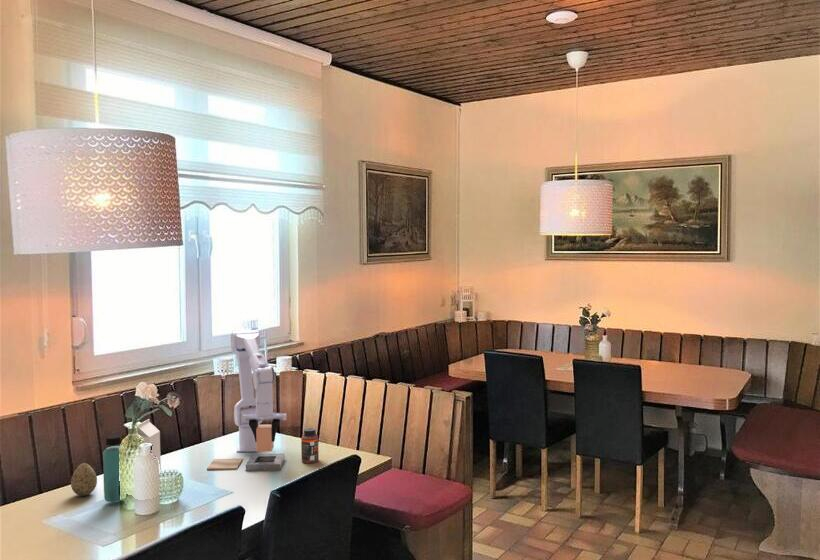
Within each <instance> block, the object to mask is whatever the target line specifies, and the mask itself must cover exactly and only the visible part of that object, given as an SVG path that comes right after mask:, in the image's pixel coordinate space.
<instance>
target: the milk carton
mask: <svg viewBox="0 0 820 560" xmlns="http://www.w3.org/2000/svg"><path fill="white" fill-rule="evenodd" d="M139 424H140V423H139ZM138 434H139V435H140V436H142V437H143V438H144V440H145V442H147V443H151V444H152V445H153V446H152V450H151V452H152V454H154V455H155V456H156V457H157V458H158V460H159V464H160V470H161V471H162V467H161V465H162V461H161V459H162V458H161V431H160V430H159V429H158V428H157V427H156V426H155V425H154V424H153V423H152V422H151V421H150V418H148V419H146V420H144V421H142V422H141V424H140V425H139V426H138Z"/></svg>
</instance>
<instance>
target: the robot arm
mask: <svg viewBox="0 0 820 560" xmlns="http://www.w3.org/2000/svg"><path fill="white" fill-rule="evenodd" d="M260 343H261V334H260V331H259V330H258V329H254V330H241V331H239V330H238V331H232V333H231V334H230V349H231V353H232V355H235V356H236V359H237V366H238V378H239V380H238V381H239V391H240V400H239V401H237V402H236V404H234V407H233V420H234V424H235V426H237V427H238V439H239V440H238V441H239V442H238V443H239V445H238V447H237V450H236V453H241V452H242V453H243V452H244V453H245V452H257V440H256V428H257V427H258V425H261V423H263V421H271V422H270V423H271V425H272V442H274V443H275V440H276V435H277V429H278V427H279V425H280V422H281V421H286V420H287V413H281V412H274V402H273V401H274V396H273V394H274V393H273V388H274V387H273V384H274V383H275V380H276V379H275V378H276V374H275V373H276V372H275V369H274V367H273V365H270V364H269V363H268V362H267V361H268V360H267V359H266V356H265V355H264V354H263V353H261V352H260V348H259V346H260ZM254 390H255V393H254ZM254 394H255V396H254Z"/></svg>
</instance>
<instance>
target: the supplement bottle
mask: <svg viewBox="0 0 820 560" xmlns="http://www.w3.org/2000/svg"><path fill="white" fill-rule="evenodd" d="M316 432H317V431H316V428H313V427H307V428H304V429H303V435H302V436H301V439H300V440H301V446H300V448H301V461H302V463H305V464H314V463H317V462H319V459H320V458H319V457H320V456H319V453H320V451H319V435H318V434H317V433H316Z"/></svg>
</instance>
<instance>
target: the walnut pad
mask: <svg viewBox="0 0 820 560" xmlns="http://www.w3.org/2000/svg"><path fill="white" fill-rule="evenodd" d="M243 460H244V459H243V458H214V459H213V460H212V461H211V462H210V464H209V465H208V466H207V468H206V471H224V470H225V471H228V470H229V471H232V470H235V469H237V468H238V469H239V467H240V466H241V464H242V462H243ZM238 469H237V470H238Z"/></svg>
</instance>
